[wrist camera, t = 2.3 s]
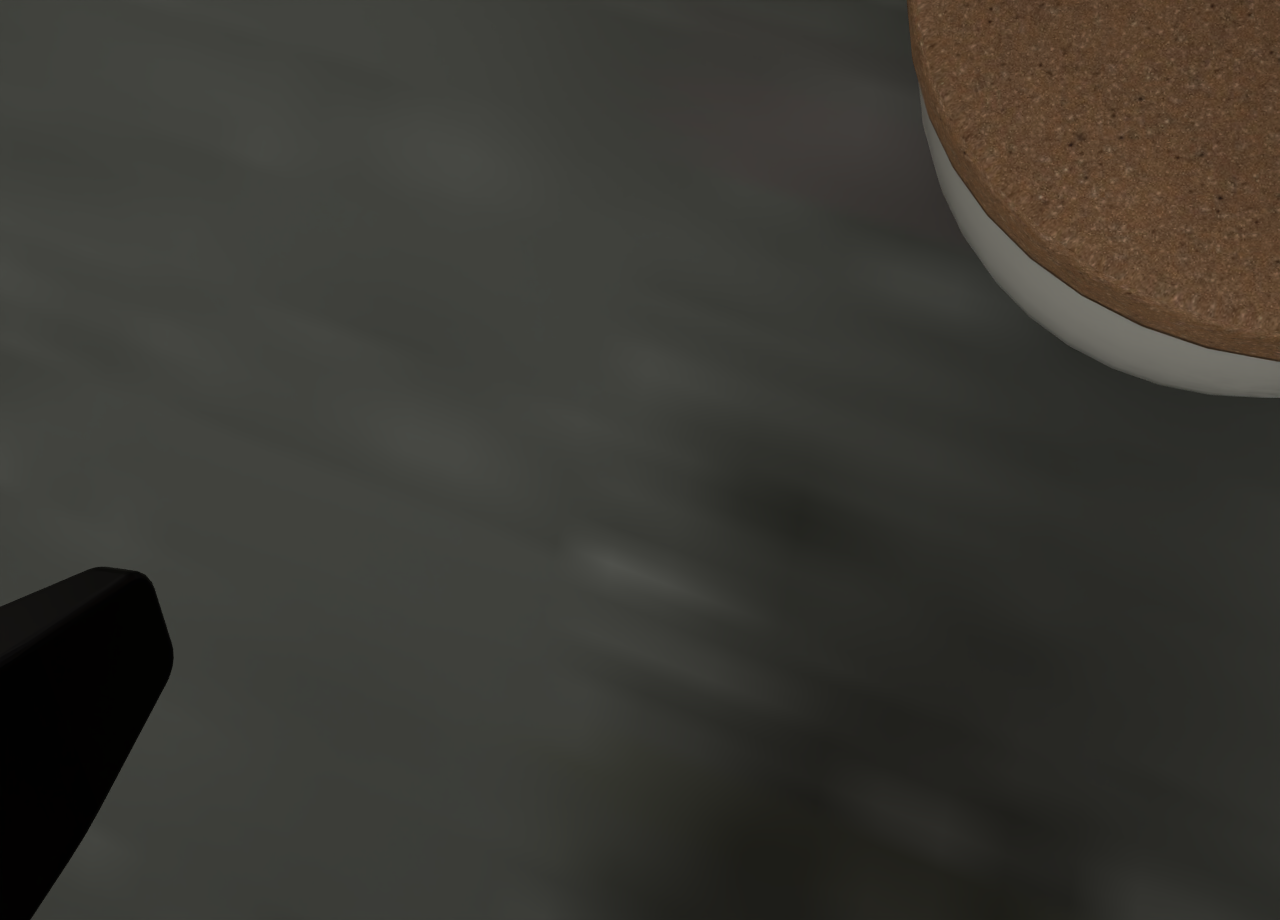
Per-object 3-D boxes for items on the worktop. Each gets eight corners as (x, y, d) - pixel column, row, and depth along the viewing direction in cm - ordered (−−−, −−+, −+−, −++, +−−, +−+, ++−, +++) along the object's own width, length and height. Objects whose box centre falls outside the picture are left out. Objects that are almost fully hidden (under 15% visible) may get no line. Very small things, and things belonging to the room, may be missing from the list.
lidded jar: (1504, -115, 22) (1911, -663, 13) (1563, 459, 20) (2085, 283, 11) (907, -54, 24) (902, -481, 15) (911, 463, 23) (908, 321, 14)
